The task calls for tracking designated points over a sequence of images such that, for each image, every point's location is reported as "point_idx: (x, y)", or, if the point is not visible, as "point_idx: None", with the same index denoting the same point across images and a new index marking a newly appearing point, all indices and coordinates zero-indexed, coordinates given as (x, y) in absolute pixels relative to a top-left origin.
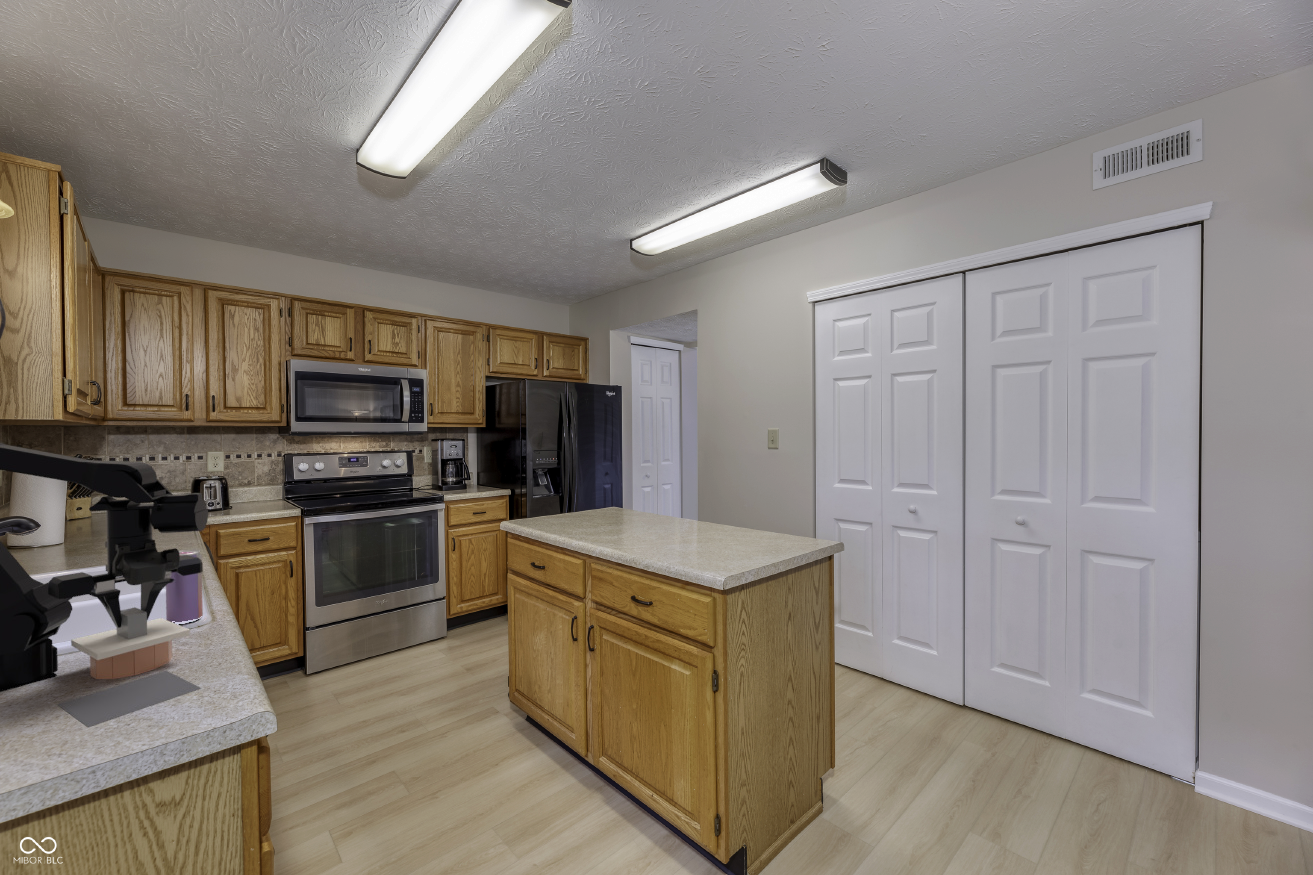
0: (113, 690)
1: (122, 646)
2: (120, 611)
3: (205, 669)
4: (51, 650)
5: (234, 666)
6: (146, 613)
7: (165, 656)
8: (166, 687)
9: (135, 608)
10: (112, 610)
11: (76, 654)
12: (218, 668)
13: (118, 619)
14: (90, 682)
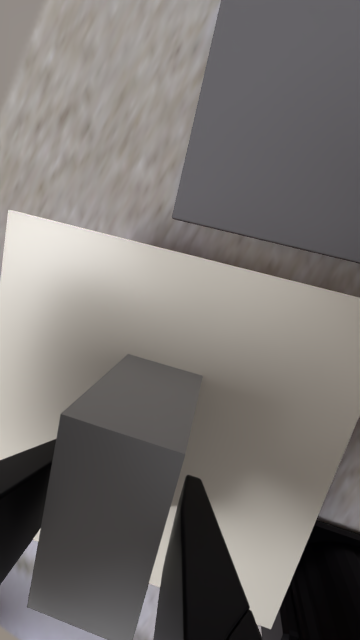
0: (341, 211)
1: (285, 295)
2: (185, 562)
3: (112, 114)
4: (305, 632)
5: (62, 30)
6: (68, 408)
7: None
8: (280, 33)
9: (41, 579)
10: (246, 615)
11: (154, 624)
12: (92, 73)
13: (199, 514)
14: None
